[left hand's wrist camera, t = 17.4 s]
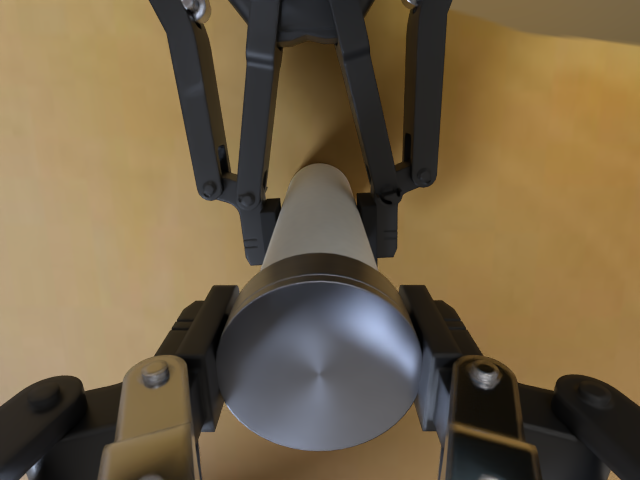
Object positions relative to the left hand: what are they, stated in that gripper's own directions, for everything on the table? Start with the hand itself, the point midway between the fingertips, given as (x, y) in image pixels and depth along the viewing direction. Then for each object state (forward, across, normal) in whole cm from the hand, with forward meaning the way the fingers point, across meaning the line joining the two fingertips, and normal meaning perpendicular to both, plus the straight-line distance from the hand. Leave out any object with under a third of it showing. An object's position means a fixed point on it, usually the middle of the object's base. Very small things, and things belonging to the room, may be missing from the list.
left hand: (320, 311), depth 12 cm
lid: (-3, 0, 0) cm, 3 cm away
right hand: (+9, 0, -5) cm, 11 cm away
